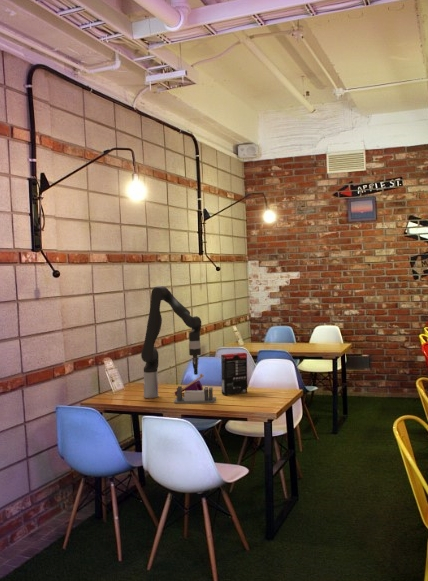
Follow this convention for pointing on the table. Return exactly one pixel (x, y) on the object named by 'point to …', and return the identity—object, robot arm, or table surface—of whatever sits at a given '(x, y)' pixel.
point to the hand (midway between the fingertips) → (195, 374)
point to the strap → (192, 382)
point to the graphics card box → (234, 373)
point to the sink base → (195, 396)
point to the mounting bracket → (193, 387)
